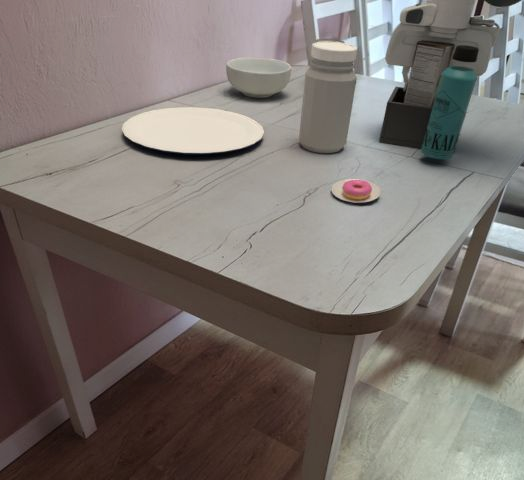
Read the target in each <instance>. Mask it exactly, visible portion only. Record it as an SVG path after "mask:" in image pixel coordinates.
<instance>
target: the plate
mask: <svg viewBox="0 0 524 480" xmlns="http://www.w3.org/2000/svg"><path fill="white" fill-rule="evenodd" d="M121 131H122V133H123V136H124V137H125V138H126V139H128V140H129V141H130V142H132V143H134V144H136V145H139V146H140V147H141V146H142V147H143V148H146V149H150V150H154V151H157V152H158V151H159V152H163V153H171V154H179V155H213V154H215V155H217V154H225V153H231V152H236V151H241V150H243V149H245V148H249V147H252V146H254V145H255V144H257V143H258V142H259V141H261V140H262V139H263V137H264V135H265V130H264V128H263V125H261V124H260V123H259V122H257V121H256V120H254V119H253V118H250V117H249V116H247V115H244V114H241V113H238V112H234V111H228V110H223V109H219V108H210V107H192V106H189V107H188V106H181V107H168V108H159V109H152V110H148V111H145V112H140V113H139V114H136V115H134V116H131V117H130V118H129V119H127V120H126V121H125V122H123V124H122V127H121Z"/></svg>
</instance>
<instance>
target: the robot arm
mask: <svg viewBox="0 0 524 480" xmlns="http://www.w3.org/2000/svg"><path fill="white" fill-rule="evenodd" d="M483 1H484V2H485V3H486V4H489V5H490V6H492V7H495V8H506V7H511V6H513V5H516V4H518V3H520V2H522V0H483ZM475 4H476V0H426V1H425V2H422V3H421V2H419V3H416V4H415V5H414V4H413V5H410V6H407V7H404V8H403V9H402V10H401V11H400V13H399V23H398V24H397V25H396V27H395V28H394V29H393V31H392V33H391V36H390V39H389V42H388V44H387V48H386V52H385V57H384V60H385V62H386V64H387V65H390V66H395V67H396V66H397V67H402V69H401V70H402V71H401V75H402V78H403V81H404V86H403V87H404V90H403V91H406V90H407V86H408V81H409V75H408V74H410V72H411V67H412V63H413V58H414V54H415V49H416V44H417V42H418V41H434V42H444V43H451V44H454V45H455V46H454V50H453V53H452V57H453V54H454V52H455V49H456V47H457V46H459V45H467V46H473V47H476V48H478V49H479V51H478V56H477V61H476V62H461V61H457V60H454V59H452V57H451V60H450V64H449V67H450V66H462V67H467V68H471V69H473V70H474V72H475V74H476V76H477V77H481V76H483V75H484V74H485V73H487V71H488V67H489V63H490V58H491V54H492V48H493V47H494V46H495V45H496V44H497V42H498V40H499V37H500V34H501V27H500V25H499V24H498V23H497V22H496V20H494V19H484V18H479V17H472V14H473V11H474V8H475Z"/></svg>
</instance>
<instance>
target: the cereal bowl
mask: <svg viewBox="0 0 524 480" xmlns="http://www.w3.org/2000/svg"><path fill="white" fill-rule="evenodd" d="M225 69H226V70H225V71H226V78H227V80H228V82H229V85H231V87H232V88H234V89H235V90H236V91H238V92H241V93H242V94H243V96H246V97H248V98H255V99H265V98H266V99H268V98H271V97H273V95H274V94H277V93H280V92H281V91H283V90H284V89H285V88H286V87H287V86H288V84H289V83H290V81H291V74H292V65H291V64H289V63H288V62H287V61H284V60H280V59H274V58H268V57H256V56H255V57H254V56H253V57H252V56H251V57H238V58H233V59H230V60H228V61H226V64H225Z"/></svg>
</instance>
